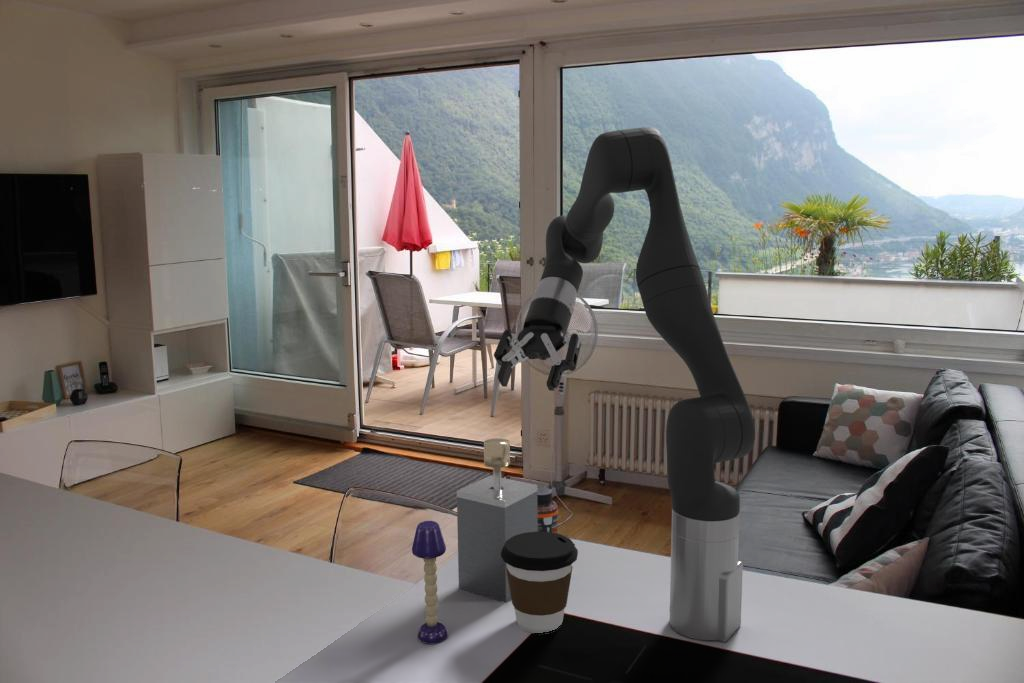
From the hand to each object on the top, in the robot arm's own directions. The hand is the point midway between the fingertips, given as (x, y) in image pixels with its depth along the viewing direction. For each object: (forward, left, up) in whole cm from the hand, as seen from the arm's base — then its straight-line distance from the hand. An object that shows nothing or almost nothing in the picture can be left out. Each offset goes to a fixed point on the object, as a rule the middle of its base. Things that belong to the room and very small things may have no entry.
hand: (526, 386), depth 142 cm
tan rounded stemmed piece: (-2, +11, -24) cm, 27 cm away
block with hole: (-2, +11, -30) cm, 32 cm away
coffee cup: (-14, +19, -30) cm, 38 cm away
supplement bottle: (-1, -3, -30) cm, 30 cm away
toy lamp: (-4, +30, -30) cm, 43 cm away
